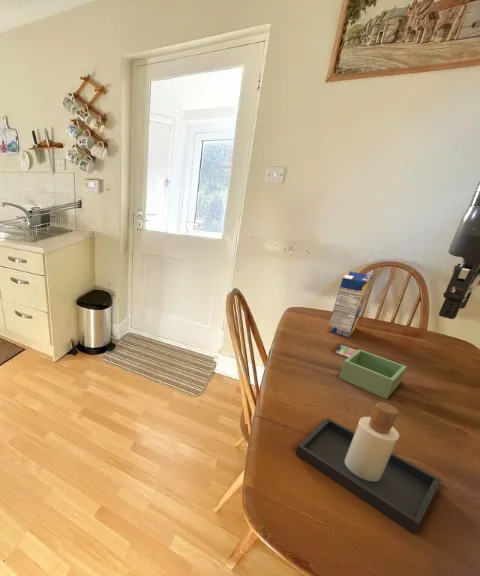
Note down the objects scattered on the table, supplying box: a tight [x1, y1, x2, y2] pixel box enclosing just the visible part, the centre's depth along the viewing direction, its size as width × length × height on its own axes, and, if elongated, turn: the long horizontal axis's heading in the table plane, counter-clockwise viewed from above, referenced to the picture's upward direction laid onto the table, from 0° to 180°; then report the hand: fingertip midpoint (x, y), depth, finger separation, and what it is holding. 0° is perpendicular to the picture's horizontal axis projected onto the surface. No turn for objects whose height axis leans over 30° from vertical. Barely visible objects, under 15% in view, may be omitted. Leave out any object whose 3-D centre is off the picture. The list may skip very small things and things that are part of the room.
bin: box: [338, 348, 408, 400], centre depth 91 cm, size 11×11×7 cm
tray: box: [295, 417, 442, 535], centre depth 65 cm, size 20×15×3 cm
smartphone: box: [333, 344, 359, 359], centre depth 102 cm, size 8×15×1 cm, turn 41°
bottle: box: [345, 401, 400, 482], centre depth 62 cm, size 6×6×16 cm
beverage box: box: [326, 270, 374, 339], centre depth 118 cm, size 7×11×22 cm, turn 132°
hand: (451, 312), depth 63 cm, fingers open, 8 cm apart
